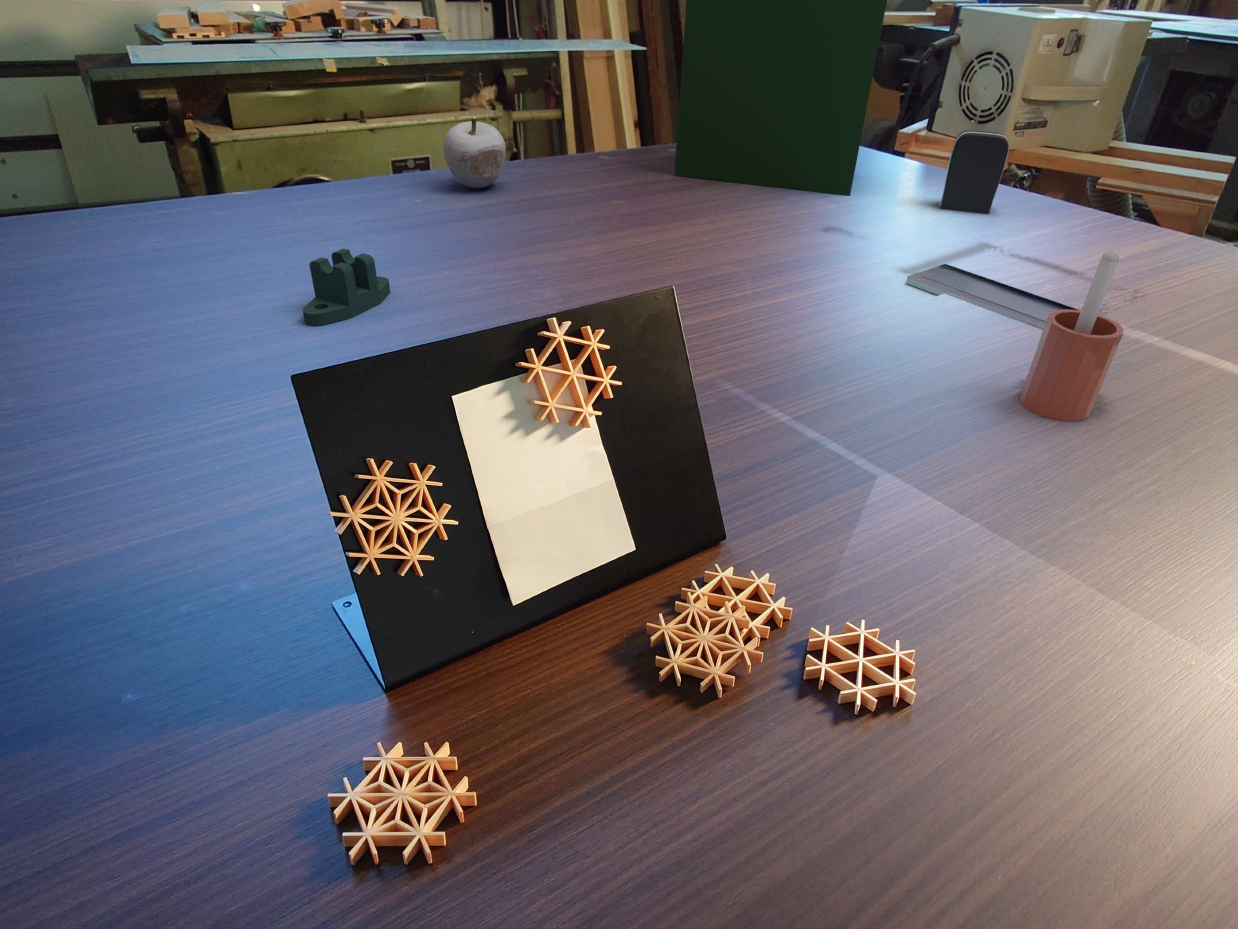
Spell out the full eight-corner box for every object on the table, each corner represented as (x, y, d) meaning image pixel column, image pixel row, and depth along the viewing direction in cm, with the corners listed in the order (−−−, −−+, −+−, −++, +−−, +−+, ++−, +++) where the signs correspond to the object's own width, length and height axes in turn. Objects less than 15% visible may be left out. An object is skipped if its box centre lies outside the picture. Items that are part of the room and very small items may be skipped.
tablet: (1132, 305, 88) (1135, 296, 88) (1057, 340, 80) (1060, 331, 79) (983, 256, 100) (986, 249, 99) (905, 283, 92) (907, 274, 91)
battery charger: (986, 216, 114) (1011, 131, 108) (988, 224, 111) (1014, 136, 104) (934, 210, 115) (956, 126, 109) (935, 218, 112) (957, 131, 106)
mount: (369, 284, 87) (362, 238, 84) (402, 292, 85) (396, 245, 82) (292, 320, 79) (281, 270, 76) (326, 330, 77) (317, 279, 74)
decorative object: (480, 176, 124) (475, 105, 118) (519, 187, 119) (517, 115, 113) (434, 187, 118) (427, 113, 112) (473, 199, 113) (468, 124, 108)
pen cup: (1099, 414, 68) (1136, 327, 63) (1066, 434, 65) (1103, 343, 61) (1038, 389, 71) (1069, 304, 67) (1005, 406, 69) (1035, 319, 64)
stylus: (1064, 405, 68) (1124, 252, 60) (1057, 409, 67) (1117, 255, 60) (1051, 399, 69) (1108, 247, 61) (1043, 403, 68) (1101, 250, 61)
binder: (673, 176, 127) (689, -68, 109) (692, 155, 138) (710, -68, 121) (850, 195, 121) (898, -60, 103) (854, 171, 133) (898, -61, 115)
